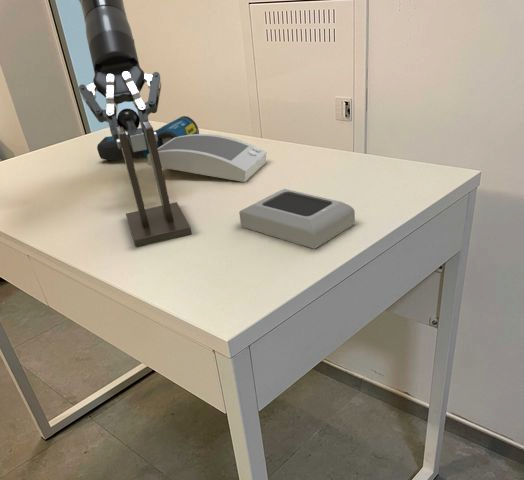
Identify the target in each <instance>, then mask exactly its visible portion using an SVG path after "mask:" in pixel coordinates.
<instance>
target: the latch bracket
mask: <svg viewBox="0 0 524 480" xmlns="http://www.w3.org/2000/svg"><path fill="white" fill-rule="evenodd" d="M143 128H144V132H145V136H146V141H147V145H148V149H149V153H150V158H151V162H152V166H151V167H152V170H153V174H154V178H155V179H154V180H155V184H156V186H157V187H156V188H157V191H158V196H159V201H160V204H161V205H158V206H157V205H156V206H153V207H148V208H145V203H144V199H143V196H142V192H141V188H140V184H139V179H138V176H137V171H136V168H135V164H134V159H132V156H131V152H130V148H129V144H128V140H127V136H126V135H127V132H125V131H124V128H123V127H117V128H116V129H117V133H118V137H119V139H116V141H117V145H118V148H119V149H121V148H122V152H123V156H124V159H123V161H124V163H125V167H126V170H127V175H128V178H129V182H130V187H131V189H132V195H133V197H134V201H135V205H136V209H137V210H135V211H130V212H126V213H125V217H126V220H127V223H128V226H129V229H130V233H131V236H132V239H133V240H132V241H133V243H134V246H135V247H136V248H138V247H142V246H146V245H150V244H156V243H159V242H163V241H167V240H171V239H176V238H181V237H185V236H188V235H189V236H190V235H192V234H193V233H192V228H191V226H190V224H189V222H188V220H187V218H186V216H185V214H184V212H183V211H182V209H181V207H180V206H179V204H178V202H177V201H175V202H170V198H169V194H168V189H167V185H166V180H165V176H164V171H163V168H162V166H161V162H160V157H159V153H158V148H157V144H156V141H158V137H157V133H156V131H155V130H154V128H153V125H152V124H151V123H150V121H149V120H148V122H143Z"/></svg>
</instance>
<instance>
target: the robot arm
mask: <svg viewBox="0 0 524 480" xmlns="http://www.w3.org/2000/svg"><path fill="white" fill-rule="evenodd" d="M78 1H79V4H80V6H81V11H82V15H83V20H84V24H85V35H86V41H87V45H88V50H89V55H90V59H91V63H92V69H93V73H94V76H93V79H92V83H90V84H88V85H86V84H83V83H82V84H80V85H79V86H78V90H79V92H80V96H81V97H82V100H83V101H84V102H85V104H86V105H87V107H88V108H89V110H90V112H92V114H93V116H94V117H95V118H96V120H97V121H98V122H99V123H104V122H106V123H108V126H109V130H110V135H111V136H112V137H113V139H114V140H116V139H119V137H118V133H117V129H116V128H117V127H119V125H118V122H117V117H118V111H119V110H118V109H119V105H120V104H123V103H132V104H133V106H134V107H135V109H136V112H137V114H138V116H139V120H140V124H139V125H140V128H141V129H142V131H143V133H144V136H145V132H144V128H143V122H148V121H149V115H150V114H156V113H157V112H158V109H159V102H160V96H161V90H162V80H161V74H160V72H158V71H154V72H153V73H152V74H148V73H145V71H144V70H143V69H142V68H141V66H140V62H139V61H140V60H139V57H138V52H137V49H136V43H135V39H134V36H133V32H132V29H131V25H130V23H129V21H128V17H127V13H126V8H125V4H124V0H78ZM145 84H147V88H148V89H149V92H148V93H149V94H148V99H147V101H145V102H144V100H143V98H142V96H141V94H140V93H141V92H142V89H143V87H144V85H145ZM97 92H98V93H99V94H100V95H102V96H103V97H104V98H105V102H106V106H105V107H106V108H105V109H103V108H102V107H101V106H100V105H99V103H98V101H97V100H96V98H97V94H96V93H97ZM145 138H146V136H145Z"/></svg>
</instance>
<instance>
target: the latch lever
mask: <svg viewBox="0 0 524 480" xmlns="http://www.w3.org/2000/svg"><path fill="white" fill-rule="evenodd" d="M117 122H118V125H119V127H123V128H124V131H125V133H126V134H128V137H129V141H130V145H131V148H132V151H133V152H137V151H142V150H147V145H146V140H145V136H144V133H143V131H142V128H141V127H140V125H141V124H140V120H139V115H138V112H137V111H135V110H134V109H132V108H123V109H121V110H120V111H119V113H117Z"/></svg>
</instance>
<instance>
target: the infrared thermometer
mask: <svg viewBox="0 0 524 480" xmlns="http://www.w3.org/2000/svg"><path fill="white" fill-rule="evenodd" d="M154 131H156V133H157V137H158V141H156V144H157V148H159V147H160V146H162V145H163V144H165V143H167V142H168V141H170V140H171V139H173V138H175V137H179V136H184V135H192V134H200V129H199V127H198V124H197V123H196V121H194V119H192V118H191V117H190V116H187V115H182V116H180V117H178V118H177V119H174V120H172V121H171V122H169V123H166V124H164V125H163V126H161V127H159V128H158V129H156V130H154ZM126 136H127V140H128V144H129V148H130V152H131V156H132V160H139V159H148V156H147V155H148V154H149V149H148V145H147V141H146V145H147V150H142V151H137V152H133V151H132V148H131V145H130V141H129V137H128V133H126ZM145 140H146V138H145ZM96 150H97V154H98V155H99V156H98V157H99V158H100V159H101V160H105V161H111V160H112V161H114V160H124V156H123V152H122V148H121V149H119V148H118V145H117V141H116V140H114V139H113V137H112V135H111V136H105V137H103V138H102V139H101V141H100V142H99V143H98V144H97V146H96Z"/></svg>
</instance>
